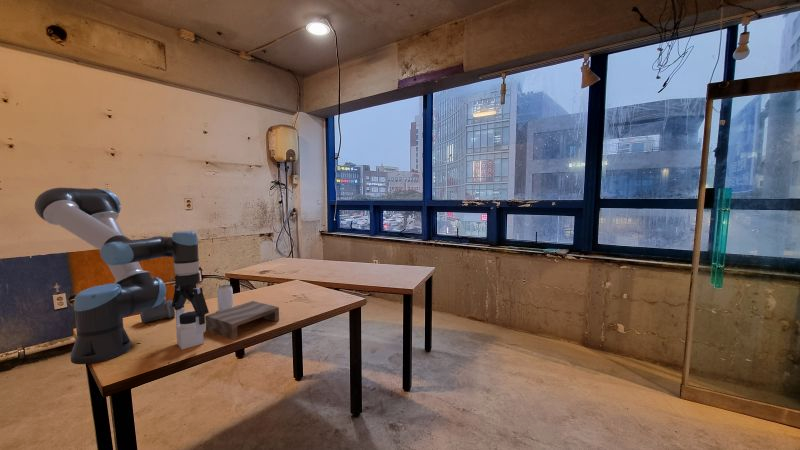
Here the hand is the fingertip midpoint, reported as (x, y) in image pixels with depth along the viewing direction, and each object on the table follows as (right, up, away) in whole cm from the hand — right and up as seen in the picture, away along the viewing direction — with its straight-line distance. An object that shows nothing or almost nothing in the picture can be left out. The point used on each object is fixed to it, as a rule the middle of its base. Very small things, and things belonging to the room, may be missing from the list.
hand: (190, 329), depth 115 cm
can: (-7, -3, +36) cm, 37 cm away
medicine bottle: (0, -6, 0) cm, 6 cm away
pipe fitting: (-31, -4, +24) cm, 39 cm away
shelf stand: (+10, -4, +18) cm, 22 cm away
